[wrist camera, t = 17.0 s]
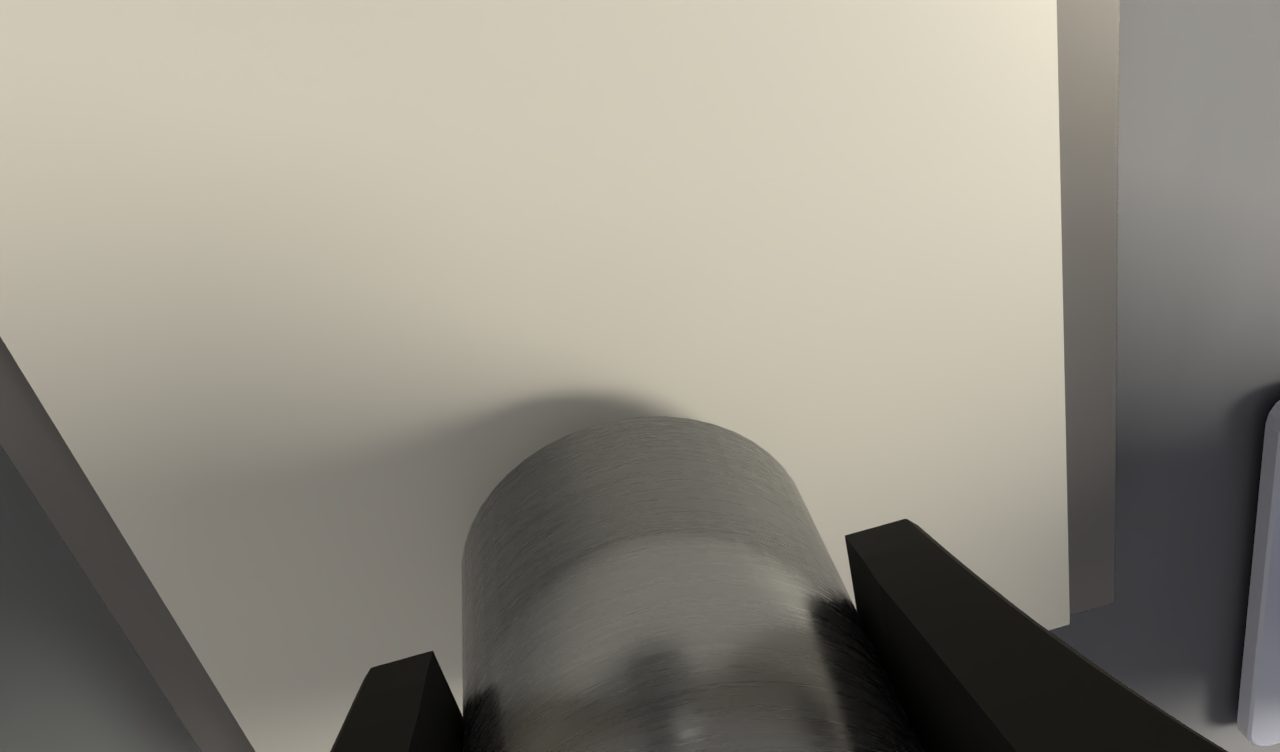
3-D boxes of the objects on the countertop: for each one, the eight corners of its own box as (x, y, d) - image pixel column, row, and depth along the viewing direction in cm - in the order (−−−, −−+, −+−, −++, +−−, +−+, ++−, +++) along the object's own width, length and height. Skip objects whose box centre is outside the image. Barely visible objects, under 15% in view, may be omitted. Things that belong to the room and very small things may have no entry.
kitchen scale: (977, -1575, 7) (1205, -2191, 5) (1048, 522, 17) (1137, 630, 15) (-823, -1142, 7) (-1423, -1588, 5) (282, 735, 17) (253, 879, 14)
